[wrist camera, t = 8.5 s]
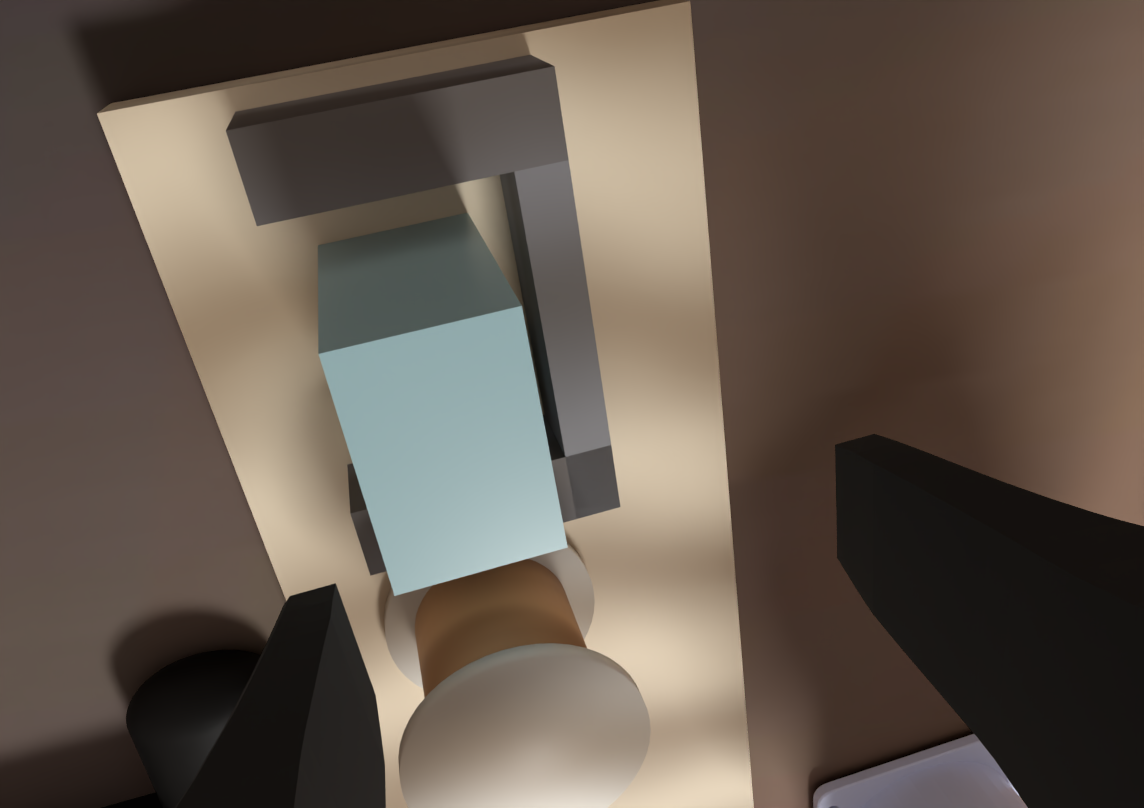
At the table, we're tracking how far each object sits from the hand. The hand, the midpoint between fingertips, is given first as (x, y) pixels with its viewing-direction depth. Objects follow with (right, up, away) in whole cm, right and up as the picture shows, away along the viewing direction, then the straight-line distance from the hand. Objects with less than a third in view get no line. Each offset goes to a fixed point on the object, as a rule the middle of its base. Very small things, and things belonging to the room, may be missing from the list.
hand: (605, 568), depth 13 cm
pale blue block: (-4, +4, +6) cm, 8 cm away
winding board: (-2, -2, +11) cm, 12 cm away
